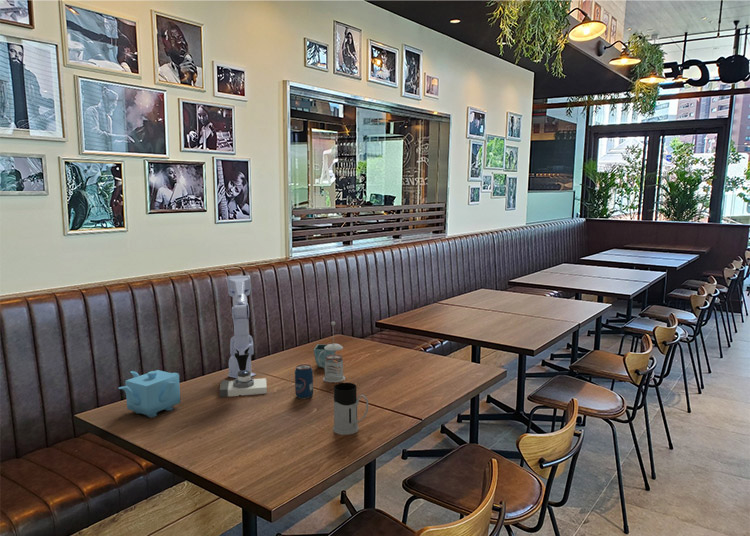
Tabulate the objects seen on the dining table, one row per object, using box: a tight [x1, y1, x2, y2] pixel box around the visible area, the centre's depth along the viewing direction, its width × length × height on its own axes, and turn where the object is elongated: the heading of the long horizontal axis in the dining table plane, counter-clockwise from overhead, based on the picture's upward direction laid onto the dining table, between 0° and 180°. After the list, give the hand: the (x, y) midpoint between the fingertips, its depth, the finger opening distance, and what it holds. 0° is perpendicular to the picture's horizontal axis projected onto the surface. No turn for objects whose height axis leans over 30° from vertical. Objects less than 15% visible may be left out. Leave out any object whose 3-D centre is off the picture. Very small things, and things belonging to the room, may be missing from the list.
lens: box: [238, 370, 252, 384], centre depth 219 cm, size 5×5×5 cm
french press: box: [318, 321, 346, 383], centre depth 231 cm, size 10×12×25 cm
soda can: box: [294, 363, 314, 400], centre depth 212 cm, size 7×7×12 cm
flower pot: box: [313, 343, 336, 368], centre depth 249 cm, size 9×9×9 cm
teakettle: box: [117, 369, 182, 418], centre depth 199 cm, size 19×19×15 cm
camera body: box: [219, 377, 268, 398], centre depth 219 cm, size 18×11×4 cm, turn 102°
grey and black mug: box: [332, 382, 369, 436], centre depth 180 cm, size 9×14×15 cm, turn 51°
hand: (242, 367), depth 218 cm, fingers open, 7 cm apart
